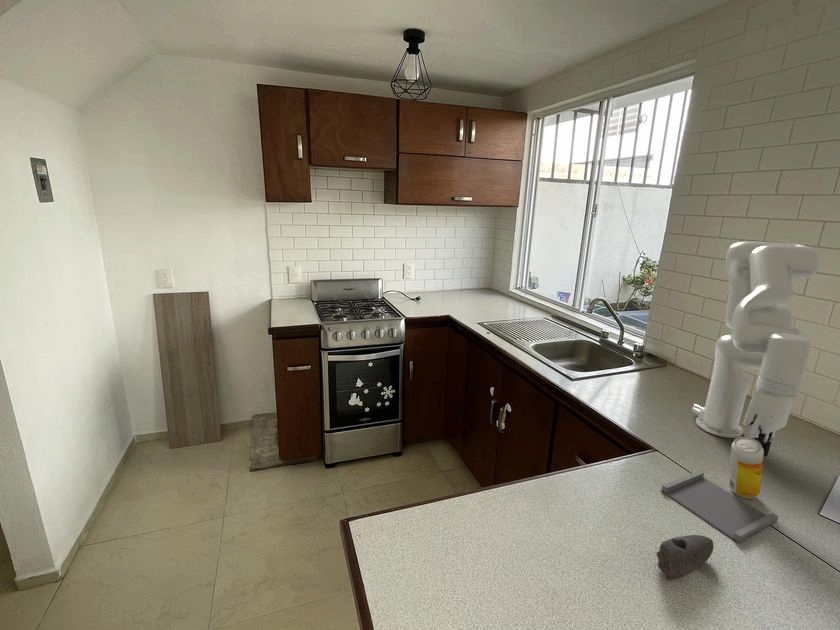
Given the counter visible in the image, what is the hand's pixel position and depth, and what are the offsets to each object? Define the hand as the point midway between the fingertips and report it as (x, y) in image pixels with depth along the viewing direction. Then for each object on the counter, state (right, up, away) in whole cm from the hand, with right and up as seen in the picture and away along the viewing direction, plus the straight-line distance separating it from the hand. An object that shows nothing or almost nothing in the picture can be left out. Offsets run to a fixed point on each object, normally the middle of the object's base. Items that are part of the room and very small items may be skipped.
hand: (758, 453), depth 103 cm
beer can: (-1, -10, +3) cm, 11 cm away
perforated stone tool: (-30, -17, -19) cm, 40 cm away
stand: (-12, -12, -2) cm, 17 cm away
